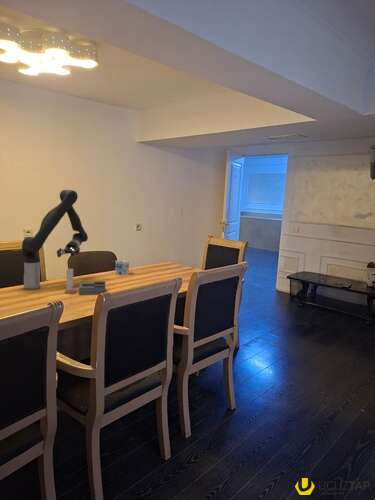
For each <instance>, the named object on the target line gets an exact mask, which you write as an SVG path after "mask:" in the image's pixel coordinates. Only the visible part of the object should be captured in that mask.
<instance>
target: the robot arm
mask: <svg viewBox="0 0 375 500" xmlns="http://www.w3.org/2000/svg"><path fill="white" fill-rule="evenodd" d="M59 198H60V203H59V204H58V205H57V206H55V207H54V208H52V209H51V210H49V211H48V212H47V214H45V216H44V217H43V218H42V220H41V224H40V227H39V230H38V231H37V233H35V235H34V236H33V237H32V236H29V237H25V238H24V239H23V241H22V243H21V244H22V245H21V252H22V259H23V264H24V265H23V267H24V271H23V272H24V273H23V289H26V290H27V289H28V290H36V289H39V288H41V271H40V268H41V267H40V264H41V263H40V261H41V260H40V257H39V255H38V253H37V252H39V251H40V250H41V249H42V247H43V245H44V243H45V242H46V241H47V239H48V237H49V236H50V235H51V233H52V232H53V230H54V229H55V228H56V227H57V225H58V224H59V223H60V221H61V220H62V218H63V217H64V216H66V215H65V214H67V216H68V218H69V219H68V220H69V222H70V225H71V229H72V231H73V232H76V233H73V234H72V239H71V240H70V241H69V242H68V243H67V244H66V245H65V247H64V248H61V247H60V248H59V249H57V250H56V255H57V258H60V257H62V256H63V255H64V256H65V255H68V254H70V257H74V256H75V255H78V254H80V252H81V249H80V247H81V245H82V243H84V242H85V243H86V242H87V241H88V233H87V232H86V231H85V229H84V227H83V224H82V221H81V219H80V217H79V214H78V213H77V212H76V210H75V208H74V206H73V205H75V203H76V202H77V200H78V193H77V191H75V190H72V189H63V190H61V191H60V192H59Z"/></svg>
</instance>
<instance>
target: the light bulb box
mask: <svg viewBox="0 0 375 500" xmlns="http://www.w3.org/2000/svg"><path fill="white" fill-rule="evenodd" d="M114 272H115V276H116V275H117V276H119V275H122V276H125V275H127V276H128V275H129V274H130V261H129V260H128V259H126V260H125V259H123V260H122V259H121V260H120V259H119V260H118V259H117V260H116V259H115V271H114Z"/></svg>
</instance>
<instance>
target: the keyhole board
mask: <svg viewBox="0 0 375 500" xmlns="http://www.w3.org/2000/svg"><path fill="white" fill-rule="evenodd" d="M104 292H105V293H106V281H105V280H102V281H101V280H100V281H99V280H98V281H97V280H95V281H93V282H80V283H79V286H78V295H79V296H80V295H101V294H100V293H104Z"/></svg>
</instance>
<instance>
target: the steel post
mask: <svg viewBox="0 0 375 500" xmlns="http://www.w3.org/2000/svg"><path fill="white" fill-rule="evenodd" d="M75 293H76V288H74V268H67V269H66V288H65V289H64V294H75Z"/></svg>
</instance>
